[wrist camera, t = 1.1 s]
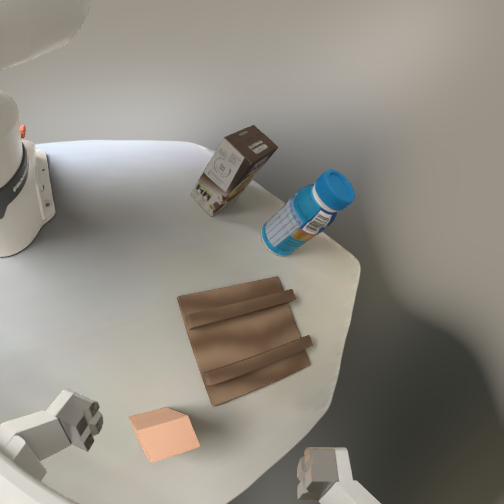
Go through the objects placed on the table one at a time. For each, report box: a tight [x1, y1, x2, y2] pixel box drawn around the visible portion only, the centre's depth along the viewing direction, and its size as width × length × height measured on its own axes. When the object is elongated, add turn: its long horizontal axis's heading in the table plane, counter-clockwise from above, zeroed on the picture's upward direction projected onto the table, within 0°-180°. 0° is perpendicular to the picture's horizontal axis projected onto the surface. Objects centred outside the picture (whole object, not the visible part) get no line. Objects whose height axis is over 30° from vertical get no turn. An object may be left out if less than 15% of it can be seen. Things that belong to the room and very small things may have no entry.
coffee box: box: [191, 125, 278, 216], centre depth 51 cm, size 9×6×16 cm
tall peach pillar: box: [129, 407, 201, 462], centre depth 29 cm, size 4×6×12 cm, turn 111°
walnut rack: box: [177, 276, 312, 406], centre depth 46 cm, size 18×20×4 cm
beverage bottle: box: [261, 170, 355, 256], centre depth 52 cm, size 8×8×20 cm
